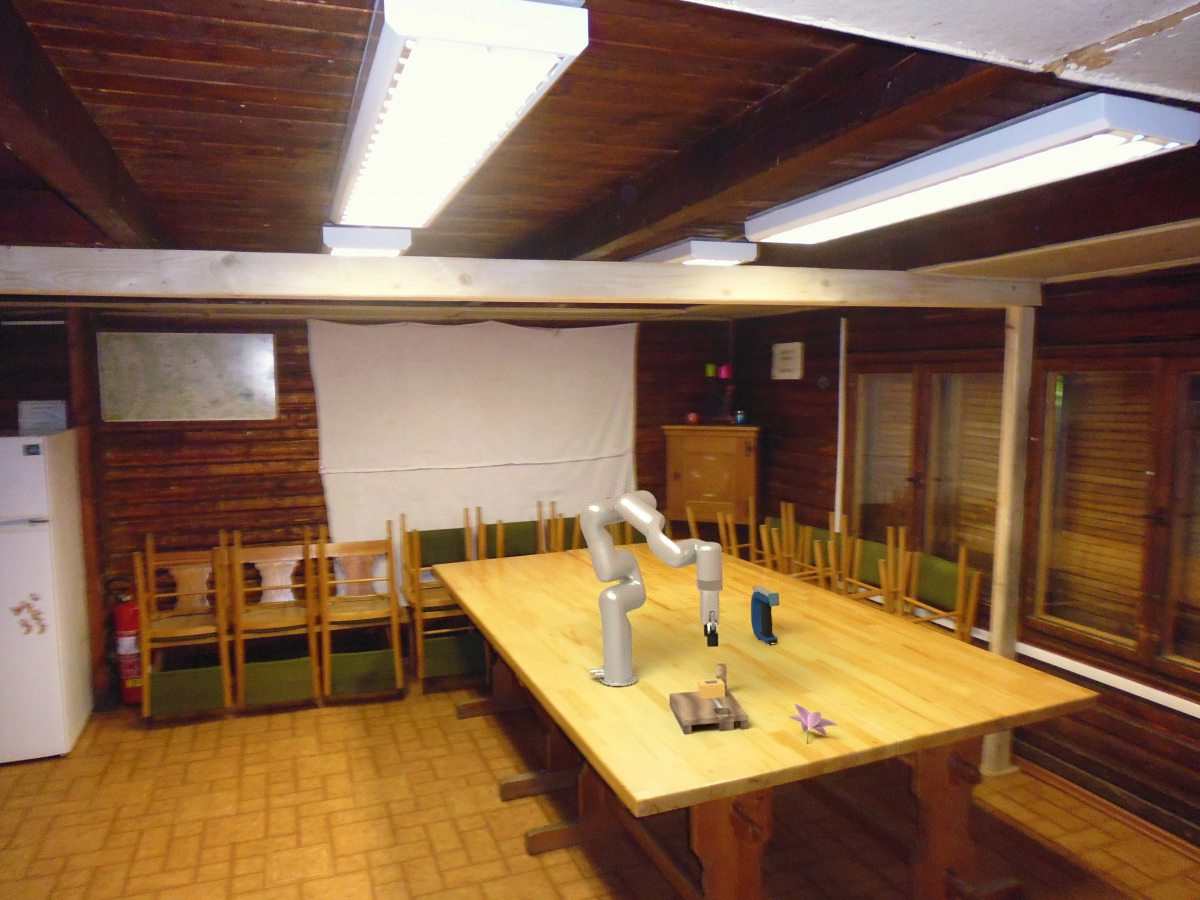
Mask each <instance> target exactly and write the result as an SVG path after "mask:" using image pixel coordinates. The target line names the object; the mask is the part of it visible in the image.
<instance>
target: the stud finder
mask: <svg viewBox="0 0 1200 900" xmlns="http://www.w3.org/2000/svg"><path fill="white" fill-rule="evenodd" d="M697 691H698V694H699V695H700V697H701V698H702V699H709V698H722V697H725V684H724V682H723V681H722V680H721V679H717V678H713V679H712V678H711V679H710V678H709V679H700V680H699V679H698V680H697Z"/></svg>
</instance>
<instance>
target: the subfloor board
mask: <svg viewBox="0 0 1200 900" xmlns="http://www.w3.org/2000/svg"><path fill="white" fill-rule="evenodd" d="M669 707H670V710H671V711H672V713H673V715H674V717H675V719H676V721H677V723H678V725H679V727H680V729H681V730H682V732H683V734H684V735H691V734H692V726H696V725H707V724H714V725H715V726H716V728H717V729H718V731H719V732H726V731H727V732H728V731H734V730H735V729H734V722H735V724H736V725H737V726H738V728H739V730H748V729H749V728H748V725H749V722H748V714H747V713H746V711H745V710H744V708H743V707H742V706H741V705H740V703H739V702H738V700H737V699H736V698H735V697H734V695H733V694H732V693H731V691H730V690H729V689H728V688H727V689H725V697H722V698H709V699H702V698H701V697H700V695H699V694H698V690H696V691H687V692H675V693H674V692H673V693H669Z"/></svg>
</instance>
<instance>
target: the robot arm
mask: <svg viewBox="0 0 1200 900" xmlns="http://www.w3.org/2000/svg"><path fill="white" fill-rule="evenodd" d="M657 505H658V504H657V499H656V498H655V495H653V494H652V493H651V492H649V491H647V490H635V491H631V492H626V493H624V494H623V493H622V494H621V495H620V496H614V497H610V498H603V499H599V500H595V501H592V502H589V503H588V504H586V505H585V506H584V507H583V509H582V510H581V513H580V516H579V524H580V525H579V526H580V529H581V532H582V534H583V537H584V539H585V541H586V544H587V548H588V552H589V553H588V554H589V555H590V559H591V563H592V567H593V571H594V574H595V576H596V578H597V580H598V581H600V582H601V583H605V584H606V583H612V582H615V581H619V583H618V584H614V585H611V586H609V587H606V588H605V589H603V590H602V591H601V593H600V594H599V596H598V608H599V611H600V617H601V626H602V629H601V630H602V646H603V648H602V652H603V653H602V654H603V664H602V666H601V667H599V669H595V668H594V669H589V675H590V676H594V678H599V682H600V681H601V682H602V683H604V684H606V685H605V686H607V685H610V686H609V687H612V686H622V687H627V685H628V686H632V685H635V684H636V683H637V682H638V680H639V677H638V674H637V673H636V672H634V666H633V662H634V661H633V638H632V637H633V636H632V631H633V630H632V624H631V621H630V619H629V618H628V616H627V615H628V614H627V613H629V612H631V611H634V610H637V609H639V608H641V607H643V606H644V604H645V603H646V600H647V591H646V587H645V583H644V578H643V577H642V576H643V575H642V571H641V569H640V566H639V562H638V560H637V558H636V556H635V555H634V553H632V551H630V550H628V549H623V548H621V549H617V550H616V547H615V544H614V540H613V538H612V536H611V534H610V532H609V531H608V530H607V529H606V528H605V526H609V525H614V524H617V523H618V524H619V523H623V522H627V523H628V524H629V525H631V526H632V527H634V528H635V529H636V530H637V531H638V532H640V533H641V534H642V535H643V536H645V538H646V543H647V546H648V547H649V549H650V551H651V553H652V554H653V555H654V556H655V557H656V558H658V559H659V560H660V561H661V562H663V563H664V564H665V565H667V566H668V567H671V568H674V569H680V568H681V569H682V568H683V567H687V566H691V565H695V564H696V590H697V591H698V592H699V597H700V598H699V604H700V605H699V606H700V607H699V609H700V610H699V611H700V613H699V618H700V621H701V624H702V625H703V636H704V637H706V645H707V647H708V648H714V647H715V648H716V647H717V648H718V647H719V632H718V625H719V624H720V592H721V591H723V590H724V588H723V587H724V586H723V584H724V583H723V581H724V580H723V549H722V545H721V544H720V543H718V542H714V541H705V540H701V539H698V538H687V539H683V540H680V541H676V542H674V541H673V540H671V539H670V538H669V537H668V536H666V535H665V534H664V533H663V532H662V531H663V529H664V527H665V524H666V519H665V516H664V514H662V513H661V512H659V511H658V510H657ZM601 682H600V683H601ZM602 683H601V684H602ZM604 684H603V685H604ZM631 684H632V685H631Z"/></svg>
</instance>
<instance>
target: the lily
mask: <svg viewBox="0 0 1200 900" xmlns="http://www.w3.org/2000/svg"><path fill="white" fill-rule="evenodd" d="M794 706H795V709H796V711H797V713H798V715H789V716H788V719H792V720H794V721H797V722H799V723H800V724H801V725H800V727H801V730H802V731H807V735H806V745H808V743H809V734H810V730H812V729H813V730H814V731H817V732H818V733H820V734H821V735H823V736H827V731H826V730H825V727H833V726H834V727H835V726H838V723H836V722H835V721H833V720H830V719H827V718H823V717H822V713H821V712H820V711H813V712H810V711H809V710H808V708H806V707H804V706H802V705H800V704H798V703H794Z"/></svg>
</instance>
